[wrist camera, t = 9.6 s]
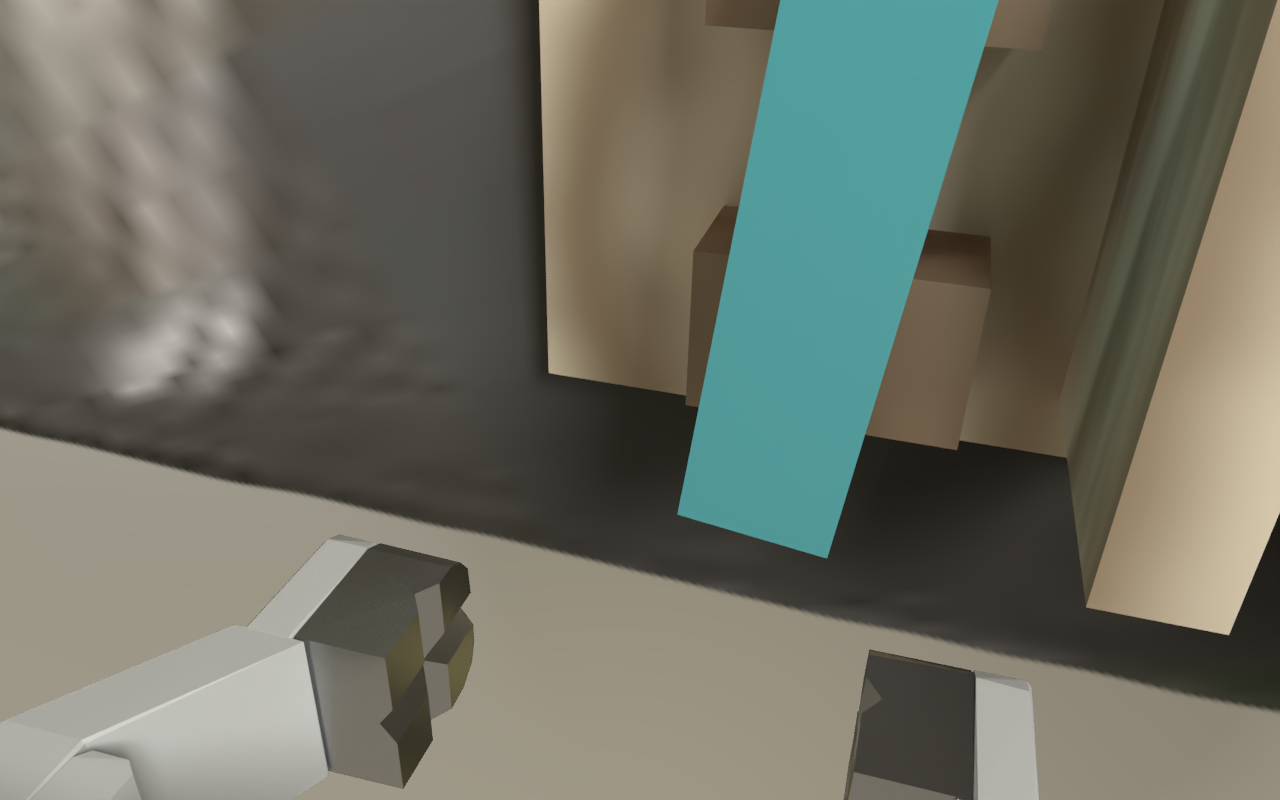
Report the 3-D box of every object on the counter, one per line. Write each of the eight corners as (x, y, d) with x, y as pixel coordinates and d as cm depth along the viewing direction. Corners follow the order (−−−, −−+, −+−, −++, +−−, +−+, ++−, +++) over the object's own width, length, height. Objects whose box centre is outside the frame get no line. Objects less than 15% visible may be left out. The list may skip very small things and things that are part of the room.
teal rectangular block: (1031, -150, 22) (1042, -142, 18) (848, 456, 30) (827, 558, 26) (847, -181, 23) (816, -180, 18) (718, 420, 31) (677, 514, 27)
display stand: (1366, -290, 24) (1644, -370, 14) (1137, 438, 34) (1202, 699, 24) (558, -291, 28) (326, -351, 18) (567, 348, 38) (420, 535, 28)
